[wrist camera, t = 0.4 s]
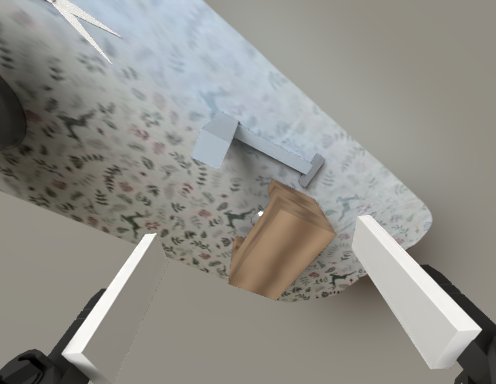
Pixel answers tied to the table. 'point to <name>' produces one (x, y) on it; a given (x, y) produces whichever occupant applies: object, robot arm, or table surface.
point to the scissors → (68, 10)
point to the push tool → (226, 127)
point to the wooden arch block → (280, 243)
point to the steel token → (256, 216)
